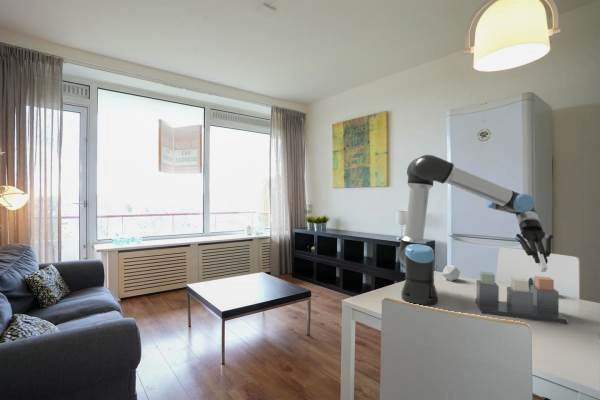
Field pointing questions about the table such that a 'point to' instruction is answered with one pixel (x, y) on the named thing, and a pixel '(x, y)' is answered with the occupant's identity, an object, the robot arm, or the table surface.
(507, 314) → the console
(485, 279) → the sage button
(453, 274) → the crumpled paper ball
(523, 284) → the ivory button
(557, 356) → the table surface
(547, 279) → the terracotta button
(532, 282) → the ceramic mug
